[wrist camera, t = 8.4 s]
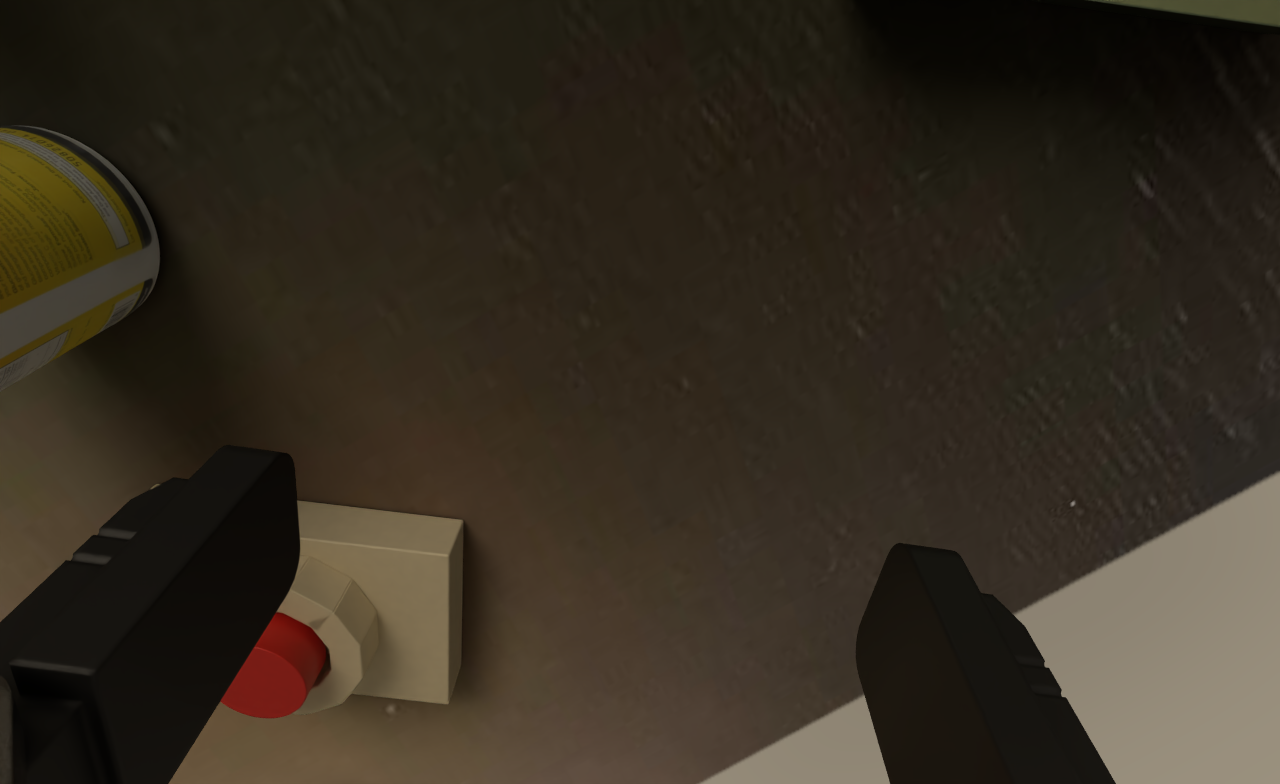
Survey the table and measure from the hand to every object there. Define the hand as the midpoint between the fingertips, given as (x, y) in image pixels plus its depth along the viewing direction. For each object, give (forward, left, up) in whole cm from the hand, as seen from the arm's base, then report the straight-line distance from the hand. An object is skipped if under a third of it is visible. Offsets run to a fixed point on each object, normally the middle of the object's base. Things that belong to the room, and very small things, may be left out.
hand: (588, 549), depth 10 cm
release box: (+11, +16, -16) cm, 25 cm away
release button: (+11, +16, -12) cm, 23 cm away
